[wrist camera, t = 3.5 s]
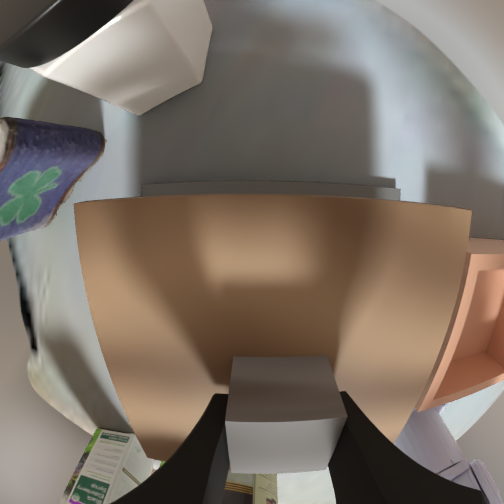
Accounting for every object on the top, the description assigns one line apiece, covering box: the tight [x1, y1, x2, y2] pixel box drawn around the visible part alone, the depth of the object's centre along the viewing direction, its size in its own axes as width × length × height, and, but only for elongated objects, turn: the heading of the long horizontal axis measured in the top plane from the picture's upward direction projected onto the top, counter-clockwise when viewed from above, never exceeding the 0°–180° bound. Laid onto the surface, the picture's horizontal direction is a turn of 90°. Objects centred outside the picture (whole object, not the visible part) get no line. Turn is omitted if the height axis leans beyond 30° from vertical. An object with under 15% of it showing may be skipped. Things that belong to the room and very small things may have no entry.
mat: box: [142, 181, 401, 201], centre depth 17 cm, size 16×16×1 cm
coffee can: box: [159, 461, 278, 504], centre depth 15 cm, size 10×10×14 cm
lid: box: [74, 194, 472, 474], centre depth 9 cm, size 15×15×4 cm
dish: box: [415, 238, 504, 412], centre depth 15 cm, size 12×12×5 cm
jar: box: [0, 0, 213, 116], centre depth 8 cm, size 9×8×12 cm
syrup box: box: [59, 428, 155, 504], centre depth 16 cm, size 6×6×14 cm
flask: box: [0, 117, 106, 241], centre depth 11 cm, size 9×3×11 cm, turn 128°
